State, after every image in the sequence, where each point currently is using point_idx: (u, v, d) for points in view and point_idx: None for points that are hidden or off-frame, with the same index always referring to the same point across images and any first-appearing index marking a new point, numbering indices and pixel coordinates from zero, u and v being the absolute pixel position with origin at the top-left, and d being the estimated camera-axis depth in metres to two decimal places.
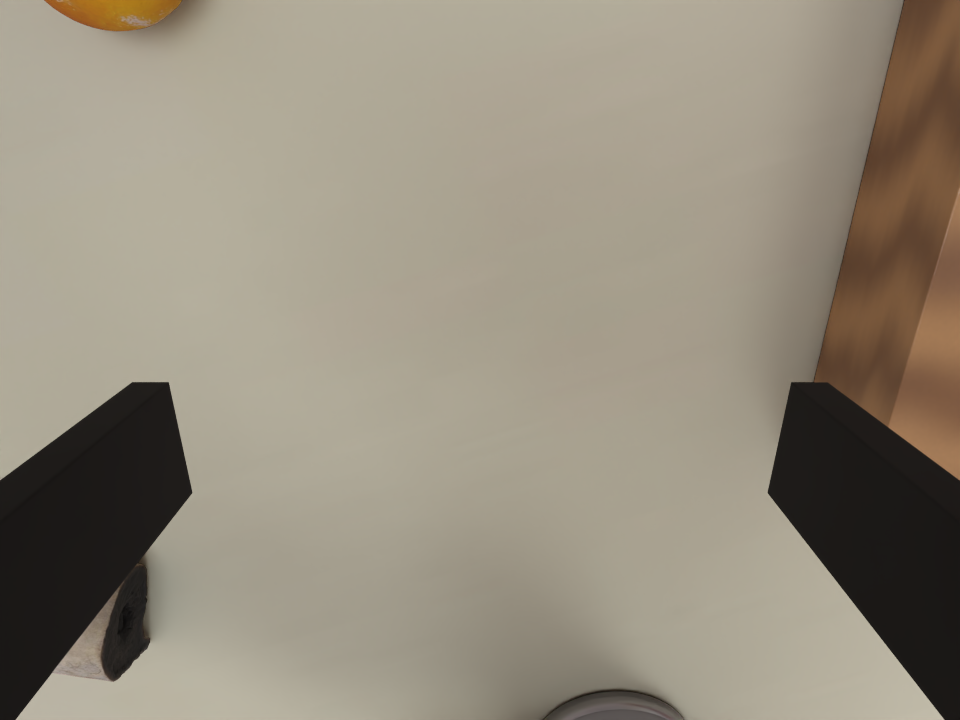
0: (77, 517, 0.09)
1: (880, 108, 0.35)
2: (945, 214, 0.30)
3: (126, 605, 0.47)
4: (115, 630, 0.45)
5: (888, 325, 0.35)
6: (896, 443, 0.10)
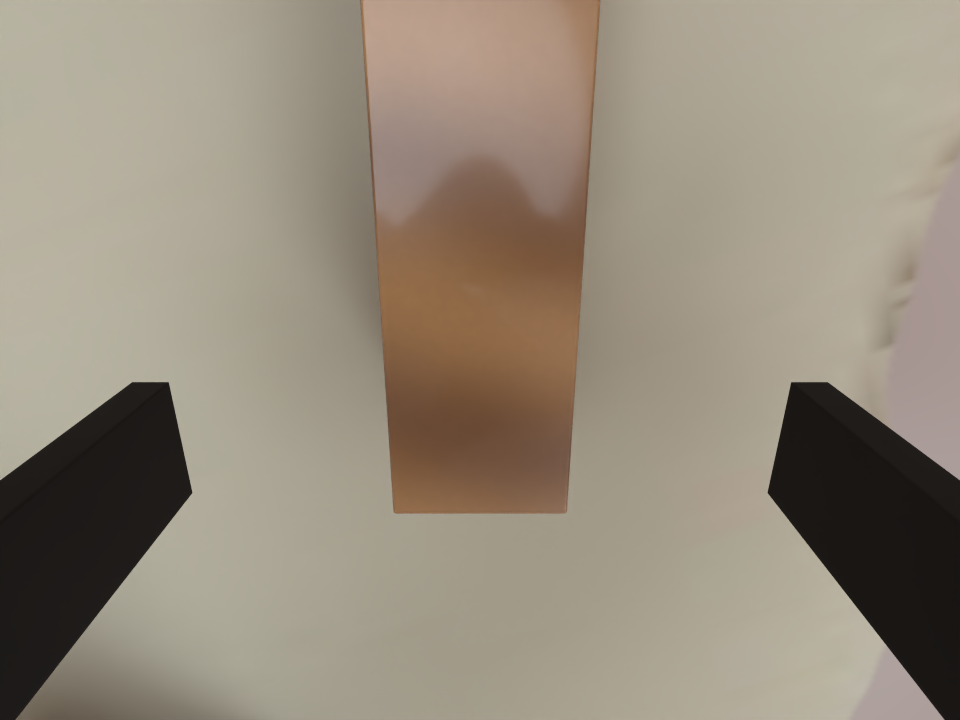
0: (77, 517, 0.09)
1: None
2: None
3: None
4: None
5: None
6: (896, 443, 0.10)
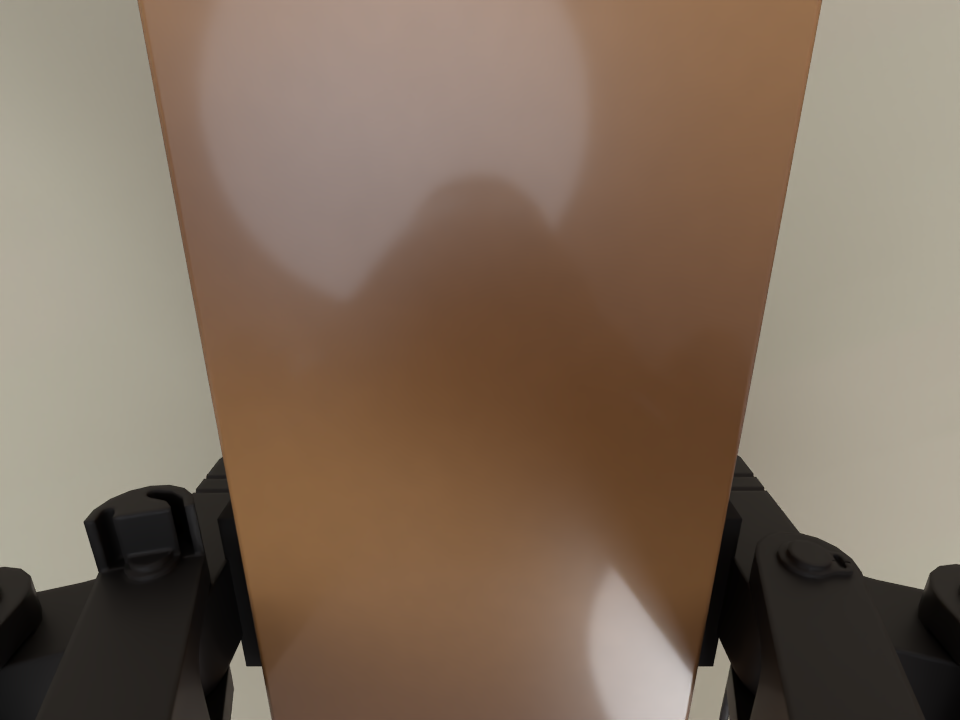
0: None
1: None
2: None
3: None
4: None
5: None
6: None
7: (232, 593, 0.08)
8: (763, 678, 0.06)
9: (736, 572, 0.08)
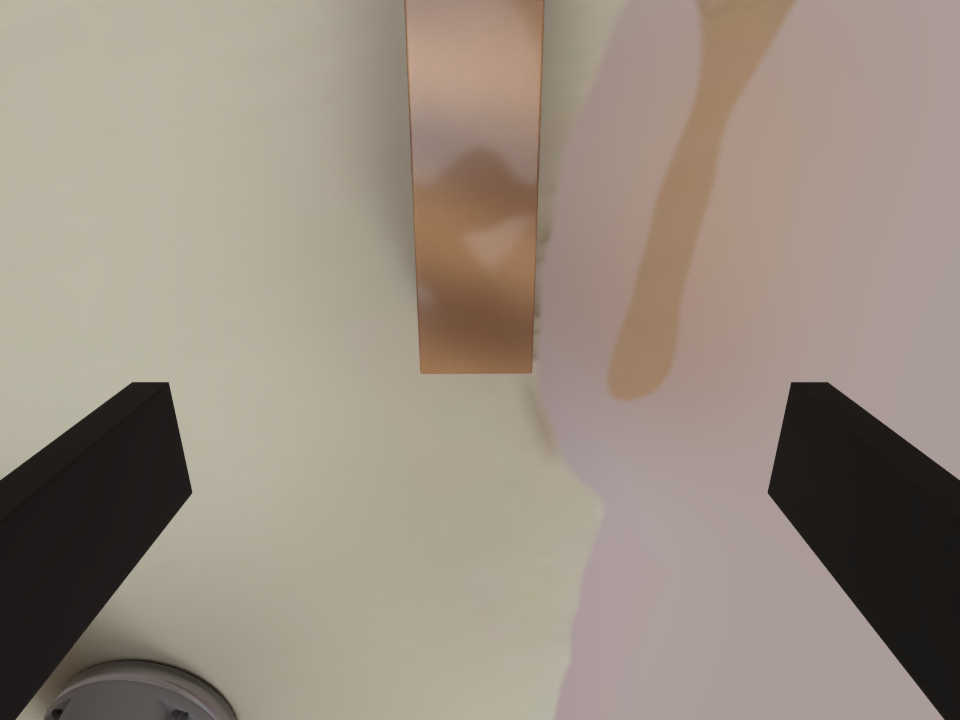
0: (77, 517, 0.09)
1: None
2: None
3: None
4: None
5: None
6: (896, 443, 0.10)
7: None
8: None
9: None
